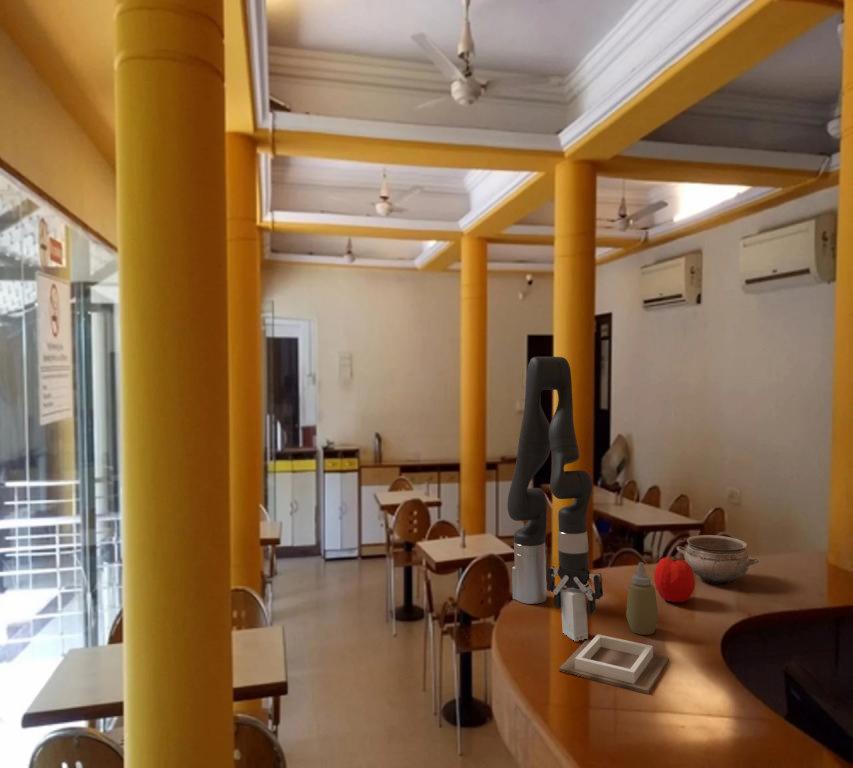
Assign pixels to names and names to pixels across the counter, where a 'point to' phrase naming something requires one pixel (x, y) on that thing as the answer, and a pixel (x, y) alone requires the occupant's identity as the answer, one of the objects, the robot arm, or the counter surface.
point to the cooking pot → (717, 557)
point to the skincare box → (574, 613)
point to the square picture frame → (611, 670)
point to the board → (621, 660)
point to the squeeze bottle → (642, 603)
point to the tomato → (674, 579)
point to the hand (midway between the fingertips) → (574, 610)
